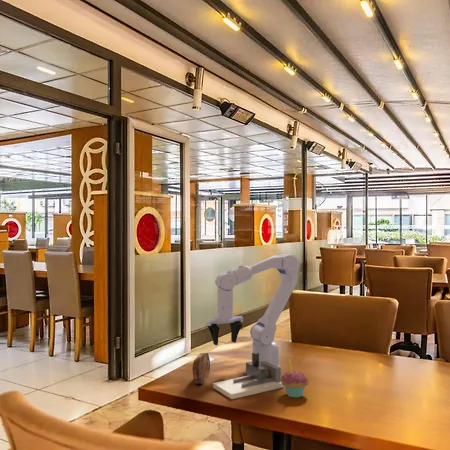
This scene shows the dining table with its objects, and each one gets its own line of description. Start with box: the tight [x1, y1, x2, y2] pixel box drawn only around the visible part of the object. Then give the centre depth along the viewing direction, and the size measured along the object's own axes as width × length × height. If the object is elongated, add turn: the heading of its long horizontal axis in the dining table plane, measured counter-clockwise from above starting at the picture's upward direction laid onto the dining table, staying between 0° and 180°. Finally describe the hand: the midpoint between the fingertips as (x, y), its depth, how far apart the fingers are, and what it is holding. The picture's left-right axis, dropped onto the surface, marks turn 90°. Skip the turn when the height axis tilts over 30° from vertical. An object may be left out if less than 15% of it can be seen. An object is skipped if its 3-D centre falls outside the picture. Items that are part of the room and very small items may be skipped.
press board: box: [212, 361, 285, 400], centre depth 152 cm, size 20×12×6 cm, turn 120°
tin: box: [192, 352, 211, 385], centre depth 160 cm, size 15×3×8 cm, turn 168°
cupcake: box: [281, 358, 309, 398], centre depth 145 cm, size 9×8×12 cm
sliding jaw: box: [245, 352, 266, 382], centre depth 153 cm, size 2×9×8 cm, turn 30°
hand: (224, 343), depth 168 cm, fingers open, 7 cm apart
